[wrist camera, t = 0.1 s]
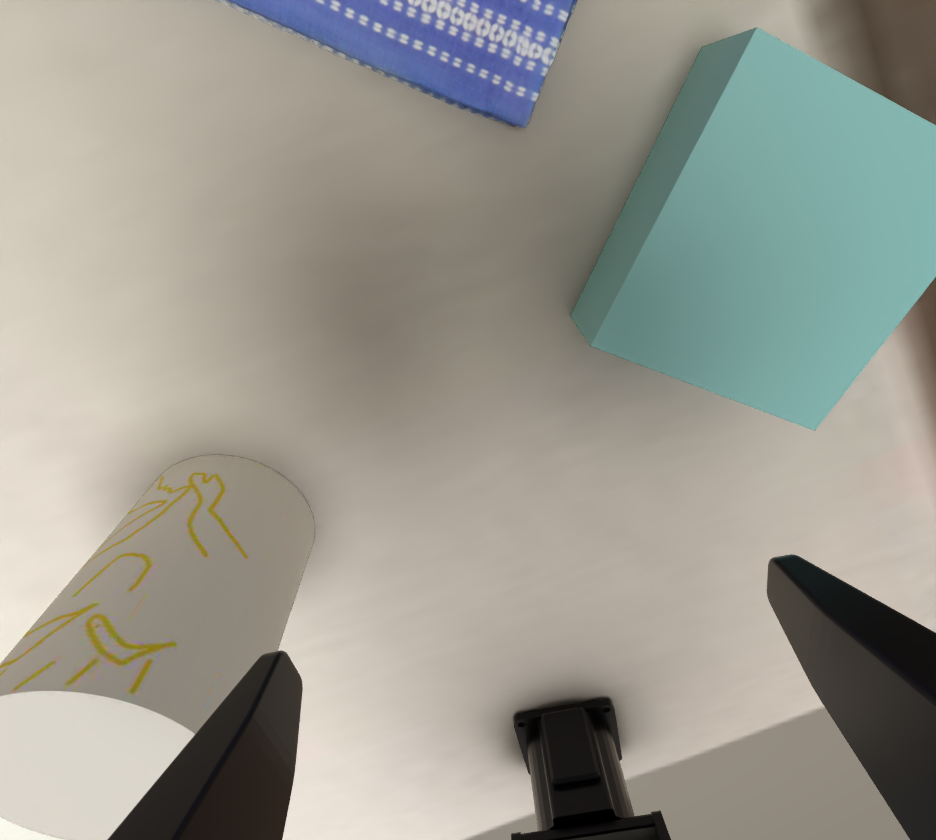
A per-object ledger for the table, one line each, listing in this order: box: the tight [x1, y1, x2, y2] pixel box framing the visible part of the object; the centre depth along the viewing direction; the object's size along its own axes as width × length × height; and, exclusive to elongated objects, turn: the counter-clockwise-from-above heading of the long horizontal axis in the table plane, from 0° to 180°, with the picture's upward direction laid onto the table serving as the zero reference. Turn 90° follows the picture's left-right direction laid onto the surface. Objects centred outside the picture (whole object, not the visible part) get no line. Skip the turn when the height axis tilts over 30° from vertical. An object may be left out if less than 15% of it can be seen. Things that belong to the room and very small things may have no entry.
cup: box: [0, 455, 315, 840], centre depth 21 cm, size 8×8×12 cm
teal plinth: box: [571, 28, 936, 431], centre depth 20 cm, size 10×10×4 cm
